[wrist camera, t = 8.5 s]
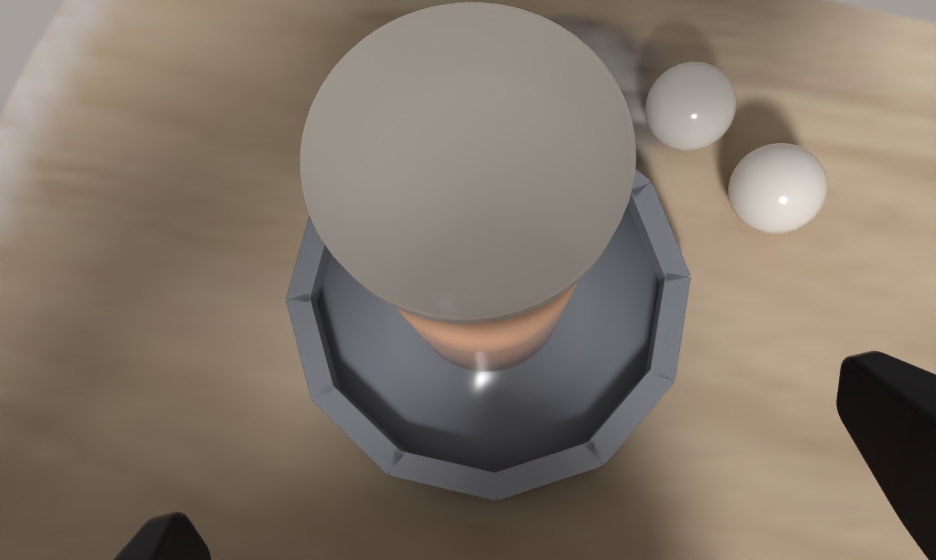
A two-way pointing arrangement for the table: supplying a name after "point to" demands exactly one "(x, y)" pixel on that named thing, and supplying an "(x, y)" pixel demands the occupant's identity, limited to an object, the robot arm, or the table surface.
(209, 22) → the table surface
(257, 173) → the table surface
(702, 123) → the pebble
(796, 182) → the pebble
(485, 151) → the pebble jar
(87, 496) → the table surface
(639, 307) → the bowl
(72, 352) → the table surface
